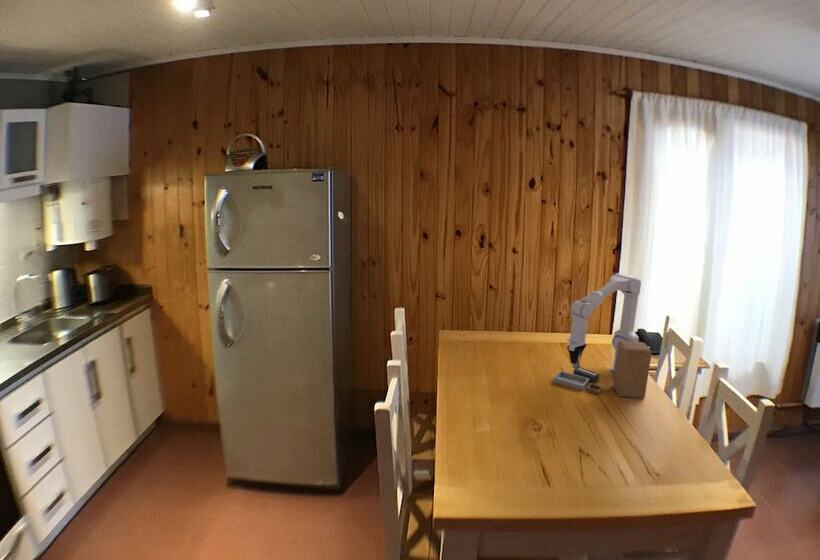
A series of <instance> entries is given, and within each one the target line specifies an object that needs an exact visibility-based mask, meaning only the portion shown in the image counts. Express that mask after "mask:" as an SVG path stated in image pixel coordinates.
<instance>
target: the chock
mask: <svg viewBox="0 0 820 560" xmlns="http://www.w3.org/2000/svg"><path fill="white" fill-rule="evenodd" d="M572 374H574V375H578V376H582V377H585V378H589V384H590V383H592V384H596V383H598V382H599V379H600V373H598V372H595V371H592V370H590V369H587V368H584V367H581V366H580V367H579V368H578V369H576V368H573V373H572Z"/></svg>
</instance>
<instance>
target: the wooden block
mask: <svg viewBox="0 0 820 560" xmlns="http://www.w3.org/2000/svg"><path fill="white" fill-rule="evenodd" d="M651 358H652V350H651V349H650V348H649V347H648V345H647V344H646V343H645V342H643V341H639V342H632V341H619V342H618V348H617V356H616V363H615V371H613V377H612V378H613V380H612V386H613V388H614V390H615V392H616V394H617V396H619V397H624V398H626V397H627V398H635V399H645V398H646V392H647V386H648V385H647V384H648V380H649V379H648V378H649V372H650V366H651Z"/></svg>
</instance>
